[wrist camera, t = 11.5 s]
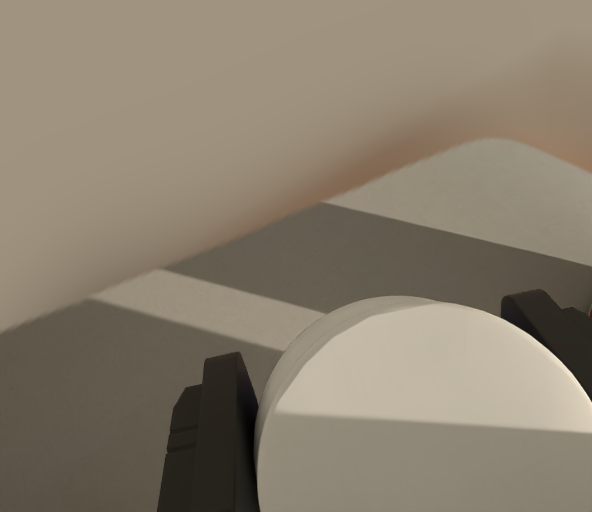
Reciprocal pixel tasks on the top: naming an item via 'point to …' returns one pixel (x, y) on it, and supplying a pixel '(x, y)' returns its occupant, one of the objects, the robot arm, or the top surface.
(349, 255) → the top surface
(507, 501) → the pill bottle
